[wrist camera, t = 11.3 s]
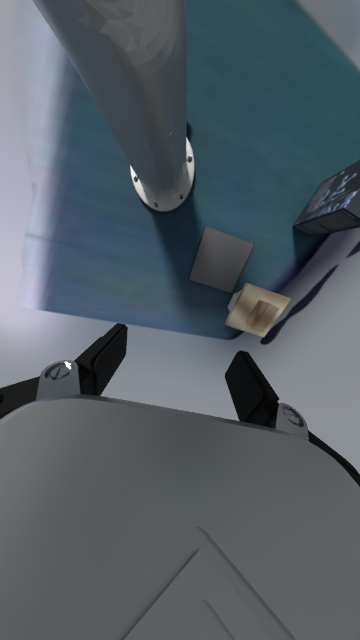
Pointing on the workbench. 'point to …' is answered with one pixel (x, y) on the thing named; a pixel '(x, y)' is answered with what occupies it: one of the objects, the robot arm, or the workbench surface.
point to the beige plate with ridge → (256, 310)
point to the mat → (220, 260)
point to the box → (333, 204)
